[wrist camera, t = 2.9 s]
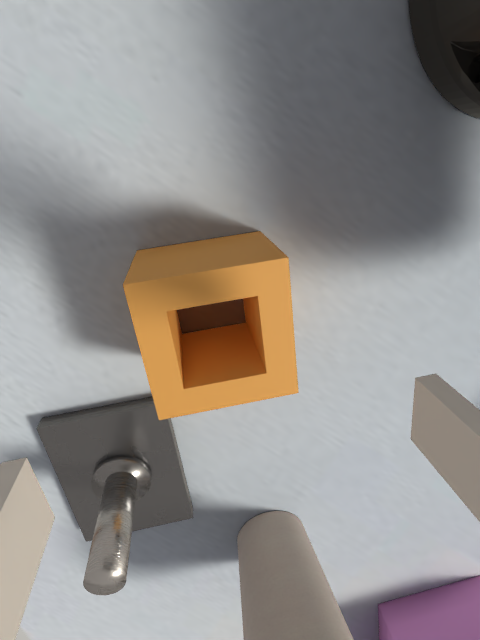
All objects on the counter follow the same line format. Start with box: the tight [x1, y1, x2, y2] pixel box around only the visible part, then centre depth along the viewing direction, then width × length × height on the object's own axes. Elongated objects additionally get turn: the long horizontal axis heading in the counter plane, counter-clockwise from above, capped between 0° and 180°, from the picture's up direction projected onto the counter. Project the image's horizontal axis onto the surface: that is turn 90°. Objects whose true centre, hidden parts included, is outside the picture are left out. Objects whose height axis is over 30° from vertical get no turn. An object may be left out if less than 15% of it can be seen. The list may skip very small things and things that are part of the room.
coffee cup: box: [237, 511, 353, 640], centre depth 30 cm, size 10×10×15 cm
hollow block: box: [123, 231, 298, 420], centre depth 23 cm, size 8×8×7 cm
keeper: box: [37, 397, 193, 595], centre depth 27 cm, size 12×9×9 cm
